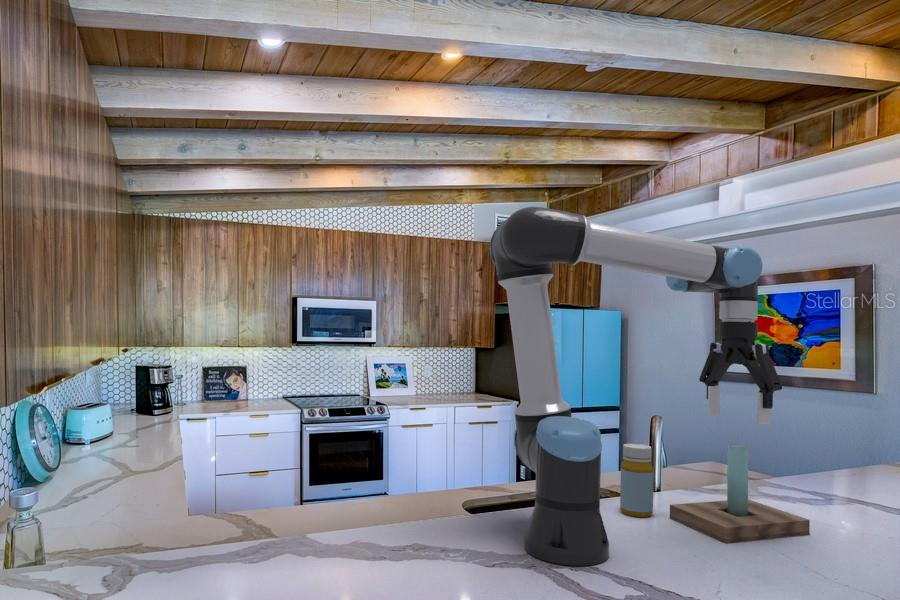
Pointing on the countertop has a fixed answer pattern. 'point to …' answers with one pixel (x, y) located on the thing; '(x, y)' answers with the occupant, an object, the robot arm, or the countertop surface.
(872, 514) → the countertop surface
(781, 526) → the bore block
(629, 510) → the bottle
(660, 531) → the countertop surface
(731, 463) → the pin
